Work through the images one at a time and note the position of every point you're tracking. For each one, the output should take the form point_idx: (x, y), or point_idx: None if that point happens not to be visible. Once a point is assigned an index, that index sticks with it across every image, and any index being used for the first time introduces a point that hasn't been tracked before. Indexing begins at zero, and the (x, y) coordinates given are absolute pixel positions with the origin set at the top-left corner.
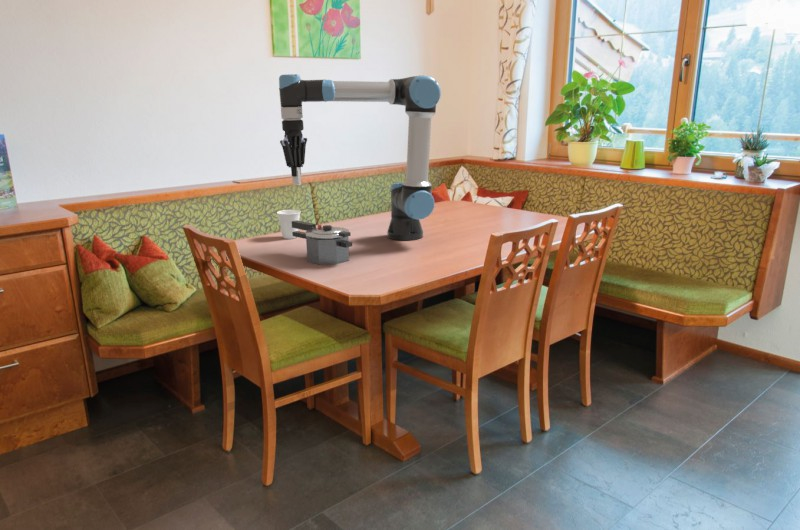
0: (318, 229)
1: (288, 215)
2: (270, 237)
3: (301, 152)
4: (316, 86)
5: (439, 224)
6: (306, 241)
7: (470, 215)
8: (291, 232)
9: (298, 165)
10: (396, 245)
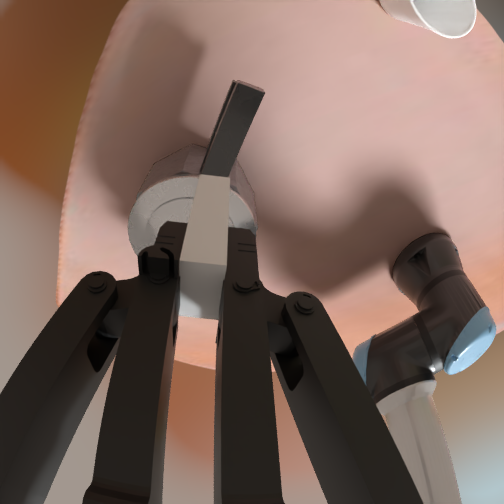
0: (183, 216)
1: (409, 2)
2: None
3: (316, 443)
4: None
5: (493, 277)
6: (140, 188)
7: None
8: (389, 9)
9: (218, 322)
10: (353, 272)
